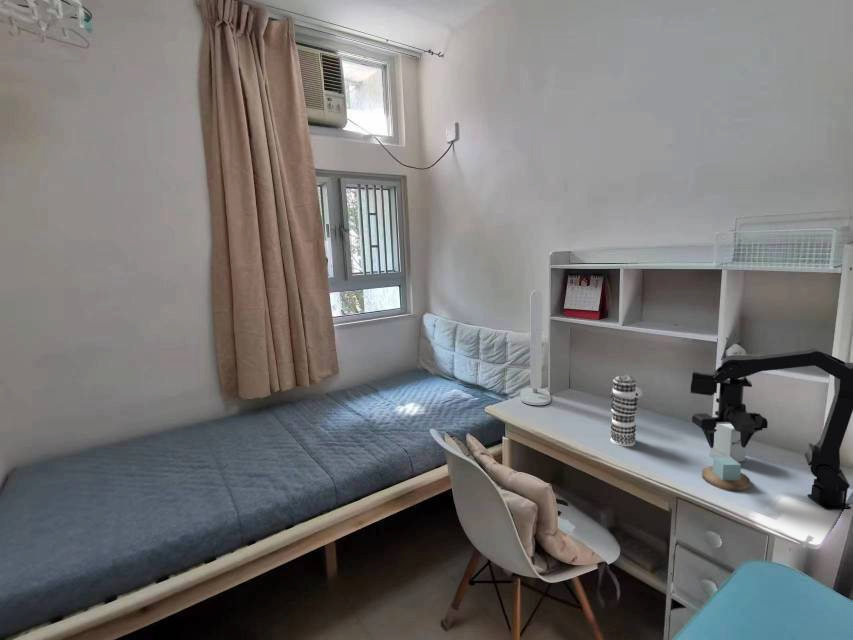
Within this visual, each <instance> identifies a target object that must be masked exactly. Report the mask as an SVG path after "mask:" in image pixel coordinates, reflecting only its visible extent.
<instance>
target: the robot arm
mask: <svg viewBox="0 0 853 640" xmlns="http://www.w3.org/2000/svg"><path fill="white" fill-rule="evenodd" d="M814 366H815V367H817V368H819V369H821V370H823V371H824V372H826V373H827V374H829V375H831V376H833V377H834V378H833V383H834V384H833V386H834V395H833V399H832V402H831V404H830V407H829V410H828V414H827V417H826V419H825V422H824V426H823V429H822V431H821V432H822V433H821V435H820V438H819V441H818V442H817V443H816V444H812V443H808V444H807V451H806V452H805V453H804V457H805V460H806V463H807V465H808V468H809V470H810V473H812V475H813V476H814V477H815V478H814V479H813V484H812V485H811V492H810V493H807V497H808V498H809V499H811V500H812V501H813V502H815V503H817V504H818V505H820V506H821V507H822V508H824V509H826V510H851V509H852V506H850V505H848V504H847V496H848V490H849V488H850V486H851V485H850V483H849V481H848V479H847V477H846V474H845V473H844V471H843V470H842V469H841V456H840V455H841V453H840V452H841V451H840V450H841V447H842V444H843V441H844V439H845V435H846V432H847V430H848V426H849V423H850V420H851V418H852V414H853V362H845V361H843V360H841V359H839V358H838V357H835V356H833V355H830V354H828V353H827V352H824V350H821V349H819V348H811V349H808V350H807V349H806V350H800V351H791V352H784V353H775V354H767V355H761V356H758V355H757V356H755V355H754V356H753V355H752V356H751V355H743V354H741V355H740V354H737V355H735V354H732V355H728V356H725V357H723V359H722V361H721V364H720V366H719V367H718V368H717V369H715V370H714V371H713V374H712V373H705V372H704V373H703V372H699V371H693V372H692V375H691V377H692V378H691V382H690V394H695V395H700V396H709V397H712V396H714V395H715V394H717V391H718V384H719V392H718V393H719V395H718V397H717V398H716V400H715V402H716V403H718V409H717V410H715V412H714V414H715V415H716V416H711V415H709V414H708V413H706V412H705V413H694V414H693V415H692V417H691V423H693V424H695V425H696V426H698V427H699V428H701V430H702V432H703V433H704V436H705V439H706V441H707V443H708V445H709V448H710V447H711V448H713V446H714V433H715V432H716V431H717V430H716V429H715V427H716V425H717V424H732V426H733V427H734V429H735V430H736V431H738V432H740V440H741V446H742V447H743V448H745V447H746V448H747V445H748V443H750V442H749V441H750V440H751V438H752V437H753V435H754V434H755V433H758V432H760V431H763V430H764V429H768V426H769V422H768V419H767V418H766V417H764V416H762V415H761V413H757V412H747V410H746V409H747V406H746V404H745V403H743V401H744V400H743V398H744V387H747V388H752V387H753V385H752V384H753V383H752V381H750V380H749V379H748V378H747V377H749V376H752V375H754V374H757V373H761V372H766V371H769V372H770V371H777V370H785V369H795V368H802V367H804V368H806V367H814Z"/></svg>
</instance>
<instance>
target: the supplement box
mask: <svg viewBox="0 0 853 640" xmlns="http://www.w3.org/2000/svg"><path fill="white" fill-rule="evenodd" d="M715 429H716V430H717V431H716V432H715V433H714V446H713V448H711V447H710V446H709V456H711V457H712V458H713V457H731V458H733V459H734V460H735V461H737V462H738V463H740V462H745V461H746V452H747V446H746V447H745V448H743V447H742V446H741V440H740V432H738V431H736V430H735V429H734V427H733V426H732V424H717V425H716V427H715Z"/></svg>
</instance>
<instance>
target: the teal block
mask: <svg viewBox="0 0 853 640" xmlns="http://www.w3.org/2000/svg"><path fill="white" fill-rule="evenodd" d="M712 466H713V473H714V474H716V475H717V476H718V477H719V478H720V479H721V480H740V472H741V471H742V470H741V469H742V464H741V463H740V462H737V461H735V460H734V459H733V458H731V457H712ZM741 473H742V472H741Z"/></svg>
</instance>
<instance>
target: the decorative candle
mask: <svg viewBox="0 0 853 640" xmlns="http://www.w3.org/2000/svg"><path fill="white" fill-rule="evenodd" d="M612 382H613V384H612V385H613V387H612V389H611V391H610V399H611V400H610V408H611V413H612V417H611V422H610V425H611V426H610V429H611V430H610V441H611V443H613V444H615V445H618V446H620V447H632V446H635V444H636V434H637V433H636V431H637V429H636V428H637V427H636V426H637V425H636V417H635V416H636V414H637V410H638V409H637V407H636V406H637V405H638V402H637V401H638V398H637V397H638V396H639V393H638V392H637V389H636V387H637V383H638V382H637V381H636V380H635V379H634V377H632V376H630V375H617V376H616V377H614V379H612Z"/></svg>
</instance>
